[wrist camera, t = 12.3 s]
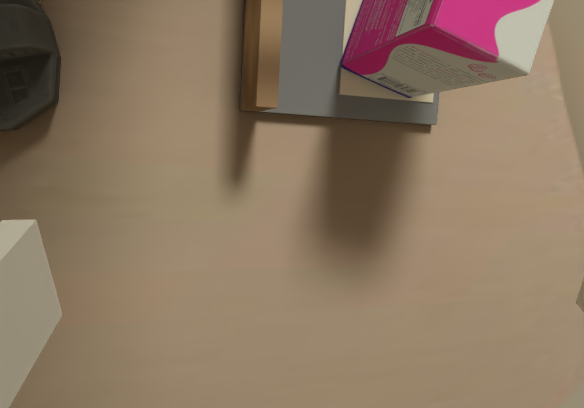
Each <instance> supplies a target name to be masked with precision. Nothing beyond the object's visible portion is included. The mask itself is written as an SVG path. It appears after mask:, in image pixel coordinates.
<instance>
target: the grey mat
mask: <svg viewBox="0 0 584 408" xmlns="http://www.w3.org/2000/svg"><path fill="white" fill-rule="evenodd" d="M362 1H363V0H283V13H282V32H281V51H280V70H279V89H278V108H274V109H270V110H265V111H260V112H267V113H280V114H293V115H307V116H320V117H334V118H347V119H360V120H374V121H387V122H401V123H414V124H428V125H436V124H437V113H438V102H439V92H436V93H431V94H426V95H421V96H416V97H412V98H407V97H405V96H403V95H400V94H398V93H396V92H394V91H391V90H389V89H387V88H384V87H382V86H380V85H378V84H376V83H373V82H371V81H369V80H367V79H365V78H362V77H360V76H358V75H356V74H354V73H352V72H350V71H347V70H345V69H344V68H342V67H340V63H341V59H342V56H343V54H344V51H345V48H346V45H347V42H348V39H349V37H350V34H351V31H352V28H353V26H354V23H355V20H356V17H357V15H358V12H359V9H360V6H361V3H362ZM245 4H246V1H245ZM245 4H244V5H245ZM244 12H245V21H246V5H245V10H244ZM245 21H244V23H245ZM243 27H244V28H243V29H244V30H243V32H244V35H243V37H244V39H243V49H242V50H243V53H242V54H243V56H242V74H241V75H242V76H241V97H240V110H242V88H243V65H244V43H245V24H244V26H243ZM253 112H256V111H253Z"/></svg>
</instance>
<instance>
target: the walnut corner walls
mask: <svg viewBox="0 0 584 408" xmlns="http://www.w3.org/2000/svg"><path fill="white" fill-rule="evenodd" d="M245 1H246V4H245V5H246V21H245V12H244V21H245V23H244V24H245V43H244V65H243V88H242V110H240V111H256V112H260V111H265V110H270V109H274V108H278V89H279V70H280V51H281V32H282V13H283V0H245ZM245 5H244V10H245ZM243 28H244V27H243ZM243 30H244V29H243ZM243 35H244V32H243ZM243 39H244V37H243ZM242 53H243V50H242ZM242 56H243V54H242ZM241 74H242V72H241ZM241 76H242V75H241ZM240 97H241V95H240Z"/></svg>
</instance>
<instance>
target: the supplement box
mask: <svg viewBox="0 0 584 408" xmlns="http://www.w3.org/2000/svg"><path fill="white" fill-rule="evenodd" d="M553 2H554V0H363V1H362V3H361V6H360V9H359V12H358V15H357V17H356V20H355V23H354V26H353V28H352V31H351V34H350V37H349V39H348V42H347V45H346V48H345V51H344V54H343V56H342V59H341V63H340V67H342V68H344V69H345V70H347V71H350V72H352V73H354V74H356V75H358V76H360V77H362V78H365V79H367V80H369V81H371V82H373V83H376V84H378V85H380V86H382V87H384V88H387V89H389V90H391V91H394V92H396V93H398V94H400V95H403V96H405V97H407V98H412V97H416V96H421V95H426V94H431V93H436V92H442V91H447V90H452V89H457V88H462V87H468V86H473V85H479V84H484V83H488V82H494V81H499V80H504V79H510V78H515V77H520V76H526V75H528V74H529V72H530V70H531V66H532V63H533V60H534V57H535V54H536V51H537V48H538V45H539V42H540V39H541V36H542V33H543V30H544V27H545V24H546V22H547V19H548V16H549V13H550V11H551V8H552V5H553Z"/></svg>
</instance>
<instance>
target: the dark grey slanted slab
mask: <svg viewBox="0 0 584 408" xmlns="http://www.w3.org/2000/svg"><path fill="white" fill-rule="evenodd" d="M60 67H61V56H60V53H59V49H58V46H57V42H56V39H55V35H54V32H53V29H52V25H51V22H50V20H49V18H48V17H47V15H46V14H45V12H44V11H43V9H42V8H41V6H40V5H39V3H38V2H37V1H36V0H0V131H7V130H17V129H20V128H21V127H23V126H24V125H26V124H27V123H29V122H30V121H32V120H33V119H35V118H36V117H38V116H39V115H41V114H42V113H44V112H45V111H47V110H48V109H50V108H51V107H53V106H54V105H56V104H57V103H58V100H59V84H60Z"/></svg>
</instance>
